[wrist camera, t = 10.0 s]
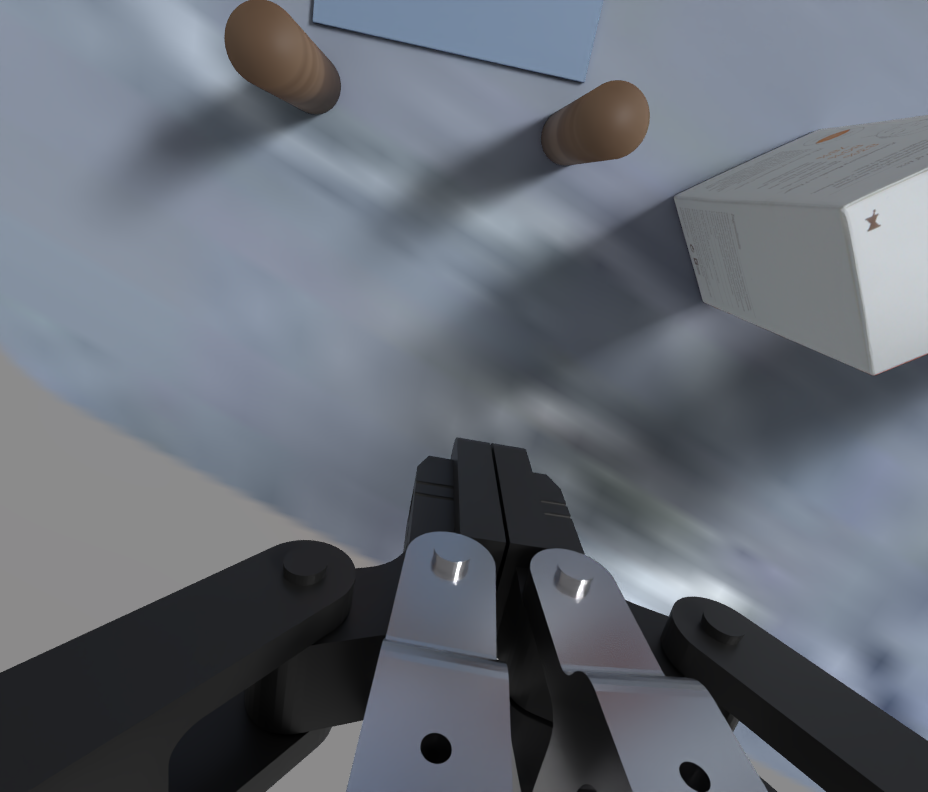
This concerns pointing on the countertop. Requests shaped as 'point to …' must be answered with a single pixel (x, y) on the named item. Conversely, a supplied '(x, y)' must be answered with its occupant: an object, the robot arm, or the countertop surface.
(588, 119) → the post
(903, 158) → the small box
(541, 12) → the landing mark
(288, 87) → the post
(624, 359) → the countertop surface
